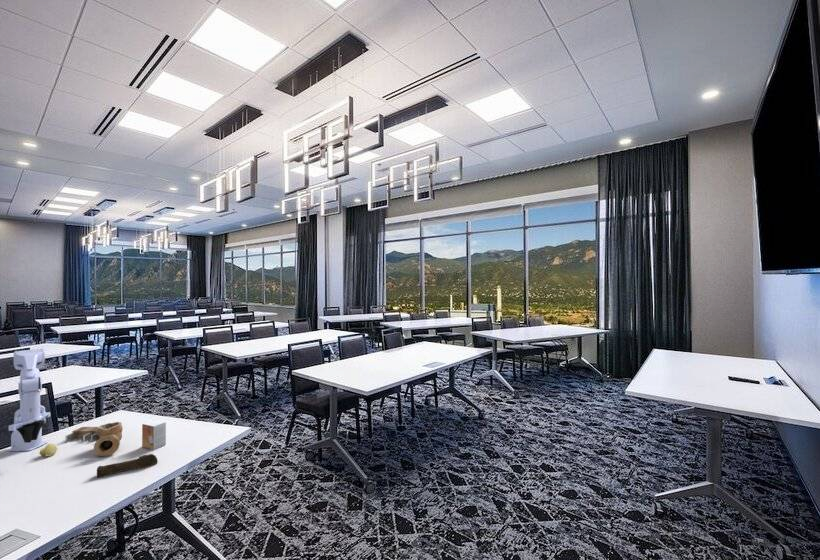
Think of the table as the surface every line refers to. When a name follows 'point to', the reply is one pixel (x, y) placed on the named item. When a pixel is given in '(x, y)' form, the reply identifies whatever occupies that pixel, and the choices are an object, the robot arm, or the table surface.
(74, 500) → the table surface
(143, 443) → the small box
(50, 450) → the knob
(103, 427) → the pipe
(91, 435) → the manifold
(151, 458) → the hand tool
